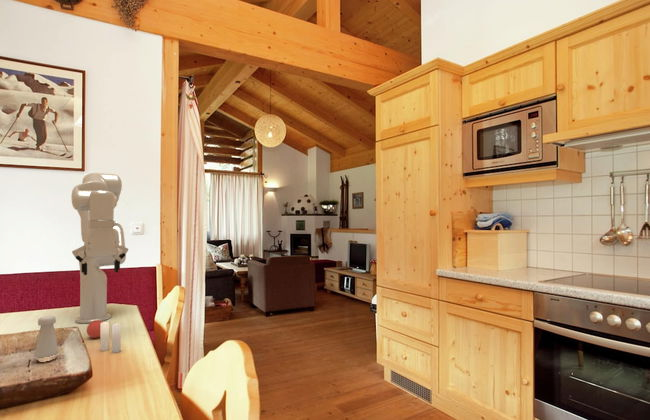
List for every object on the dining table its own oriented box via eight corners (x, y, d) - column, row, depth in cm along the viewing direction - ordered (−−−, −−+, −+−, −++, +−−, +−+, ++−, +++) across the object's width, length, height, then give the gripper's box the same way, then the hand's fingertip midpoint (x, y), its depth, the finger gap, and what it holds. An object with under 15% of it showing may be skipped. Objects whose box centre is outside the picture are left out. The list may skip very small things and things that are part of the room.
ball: (85, 337, 134) (85, 320, 134) (104, 334, 137) (104, 317, 138) (87, 341, 129) (87, 323, 129) (107, 337, 133) (107, 320, 133)
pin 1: (99, 349, 121) (99, 322, 121) (108, 347, 122) (108, 321, 123) (101, 351, 119) (101, 324, 119) (109, 349, 121) (109, 322, 121)
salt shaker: (45, 364, 109) (45, 319, 109) (29, 363, 110) (29, 318, 110) (63, 357, 114) (63, 314, 115) (47, 355, 116) (47, 313, 116)
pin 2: (111, 351, 119) (111, 324, 119) (119, 349, 121) (119, 322, 121) (112, 353, 117) (112, 325, 118) (121, 351, 119) (121, 324, 119)
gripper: (125, 224, 143) (125, 269, 143) (71, 225, 132) (70, 274, 132) (130, 225, 137) (130, 272, 137) (73, 226, 126) (73, 277, 126)
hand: (101, 273), depth 134 cm, fingers open, 9 cm apart
